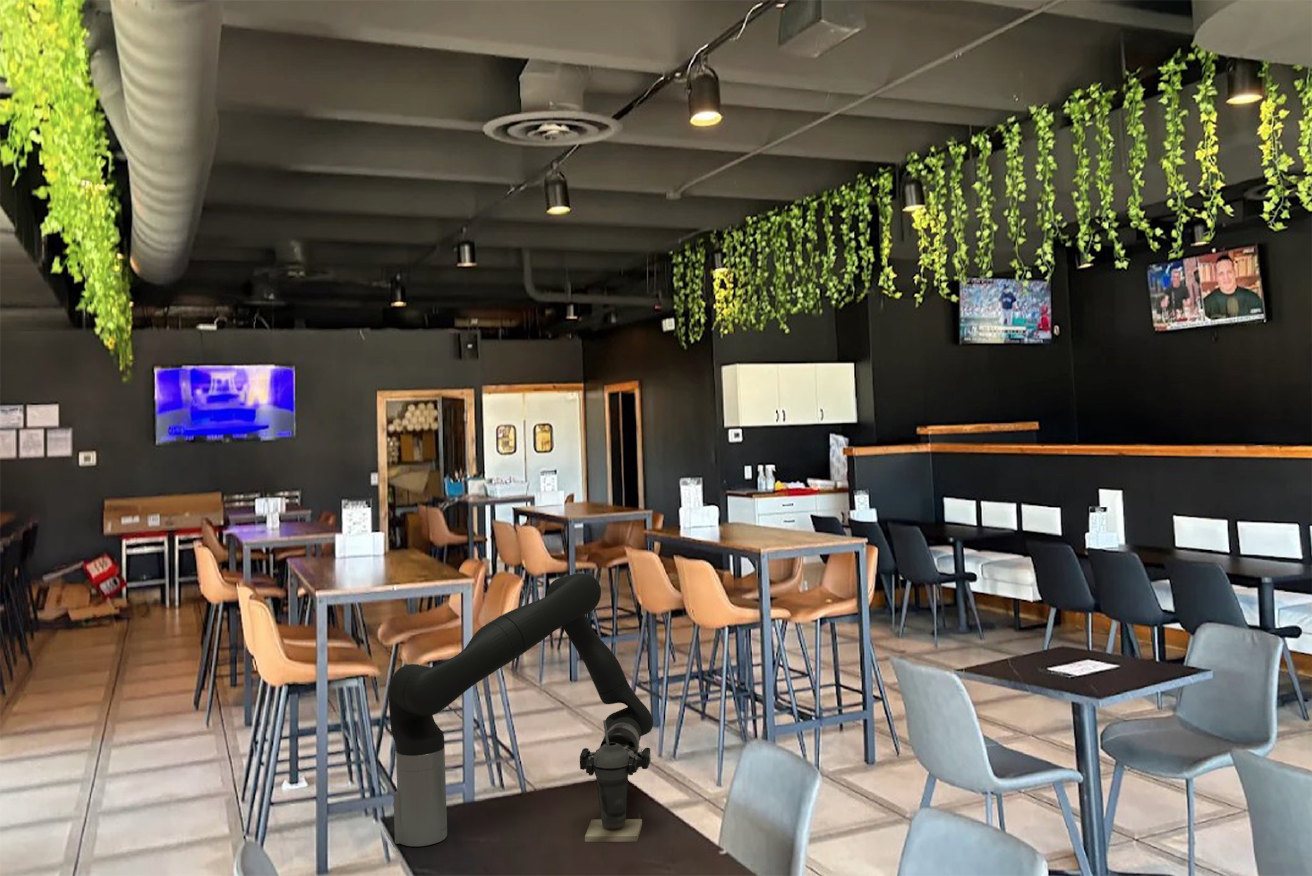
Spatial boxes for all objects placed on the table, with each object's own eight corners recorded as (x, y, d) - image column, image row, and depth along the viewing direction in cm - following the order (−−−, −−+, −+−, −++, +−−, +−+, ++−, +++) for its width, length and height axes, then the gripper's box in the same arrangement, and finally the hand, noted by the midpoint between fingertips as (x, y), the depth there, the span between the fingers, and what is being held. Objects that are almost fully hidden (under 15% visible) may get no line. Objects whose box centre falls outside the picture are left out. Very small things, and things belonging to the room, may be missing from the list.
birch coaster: (584, 841, 193) (584, 836, 193) (591, 824, 202) (591, 819, 202) (637, 841, 192) (637, 836, 192) (642, 824, 201) (641, 819, 201)
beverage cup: (627, 831, 193) (624, 725, 193) (590, 830, 194) (587, 725, 195) (636, 818, 200) (632, 715, 200) (600, 816, 201) (596, 715, 202)
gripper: (585, 727, 212) (572, 751, 196) (654, 726, 211) (647, 750, 195) (586, 763, 212) (574, 790, 196) (655, 763, 211) (648, 789, 195)
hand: (610, 770), depth 195 cm, fingers closed on beverage cup, 7 cm apart
